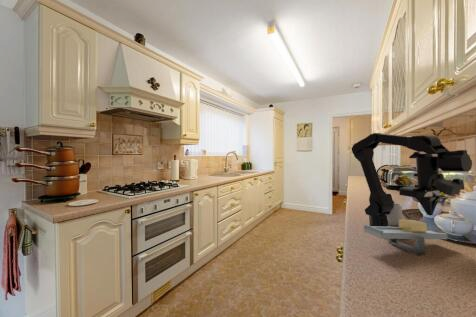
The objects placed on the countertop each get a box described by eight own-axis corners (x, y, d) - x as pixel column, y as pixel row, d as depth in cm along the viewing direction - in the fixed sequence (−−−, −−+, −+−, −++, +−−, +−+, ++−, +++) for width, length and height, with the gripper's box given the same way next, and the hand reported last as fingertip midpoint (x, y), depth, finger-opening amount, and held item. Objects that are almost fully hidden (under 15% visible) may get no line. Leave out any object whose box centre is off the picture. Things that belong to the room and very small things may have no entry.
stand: (388, 242, 75) (387, 227, 75) (394, 242, 75) (393, 227, 75) (419, 255, 64) (418, 238, 64) (425, 254, 65) (424, 237, 65)
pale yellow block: (398, 229, 72) (399, 219, 72) (412, 229, 73) (413, 219, 73) (411, 233, 68) (411, 222, 68) (426, 234, 69) (426, 223, 69)
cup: (382, 224, 96) (381, 205, 96) (384, 219, 103) (383, 201, 103) (402, 226, 91) (401, 206, 91) (403, 221, 98) (402, 202, 99)
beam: (362, 232, 71) (363, 224, 71) (423, 233, 76) (424, 225, 76) (382, 240, 64) (382, 231, 64) (448, 241, 68) (449, 232, 68)
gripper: (431, 173, 63) (433, 224, 62) (478, 170, 66) (481, 218, 66) (397, 171, 73) (399, 215, 73) (438, 169, 77) (441, 210, 77)
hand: (429, 215), depth 72 cm, fingers closed
